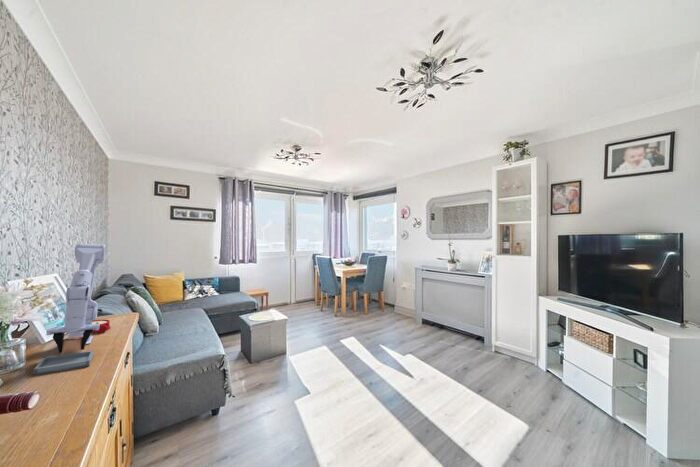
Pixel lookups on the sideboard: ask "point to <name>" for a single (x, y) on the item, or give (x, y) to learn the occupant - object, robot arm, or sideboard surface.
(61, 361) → the tray
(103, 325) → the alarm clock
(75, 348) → the cup
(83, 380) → the sideboard surface
